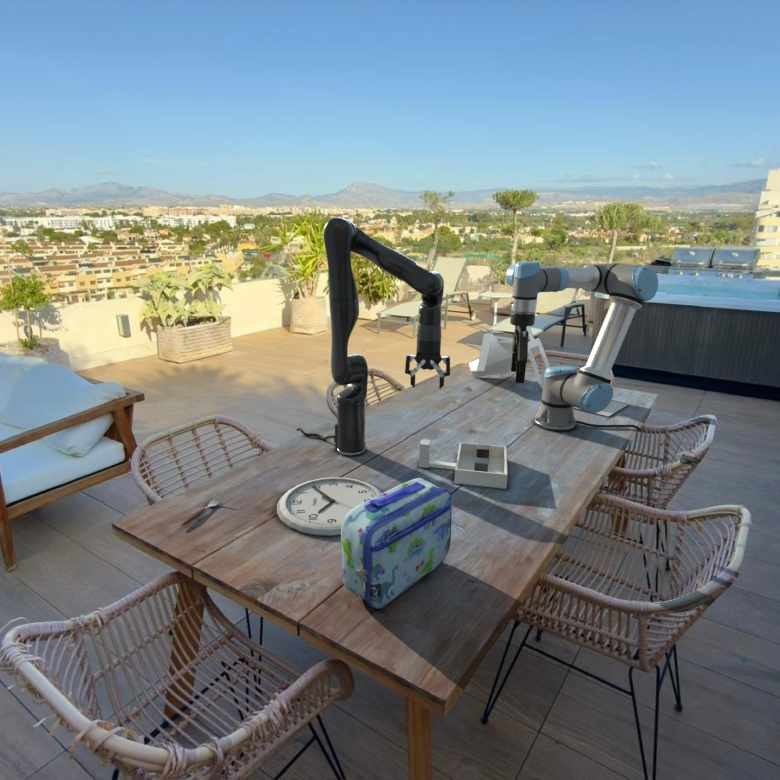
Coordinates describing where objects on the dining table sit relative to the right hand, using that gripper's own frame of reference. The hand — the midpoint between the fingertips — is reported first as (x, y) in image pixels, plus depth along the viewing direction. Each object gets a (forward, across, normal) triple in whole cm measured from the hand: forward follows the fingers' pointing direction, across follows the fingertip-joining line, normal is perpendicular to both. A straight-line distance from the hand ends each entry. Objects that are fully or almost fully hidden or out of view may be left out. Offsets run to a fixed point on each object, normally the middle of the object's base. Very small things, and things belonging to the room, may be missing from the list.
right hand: (517, 377), depth 171 cm
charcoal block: (+26, +21, -11) cm, 35 cm away
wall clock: (+27, +44, -52) cm, 73 cm away
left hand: (+3, +8, -29) cm, 30 cm away
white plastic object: (+27, -84, +7) cm, 88 cm away
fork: (+27, +53, -85) cm, 104 cm away
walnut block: (+26, +10, -10) cm, 30 cm away
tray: (+27, +16, -17) cm, 35 cm away
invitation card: (+27, -55, +44) cm, 75 cm away
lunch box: (+27, +73, -31) cm, 84 cm away
